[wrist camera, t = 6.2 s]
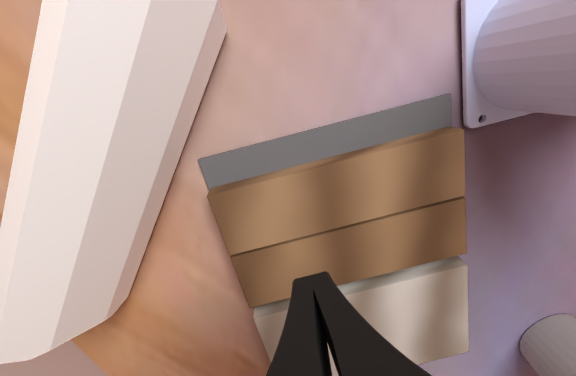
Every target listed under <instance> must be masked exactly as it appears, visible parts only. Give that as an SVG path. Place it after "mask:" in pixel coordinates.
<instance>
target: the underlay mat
mask: <svg viewBox="0 0 576 376" xmlns="http://www.w3.org/2000/svg"><path fill="white" fill-rule="evenodd" d="M447 126H451V127H452V114H451V94H445V95H441V96H437V97H433V98H429V99H426V100H422V101H418V102H414V103H410V104H407V105H403V106H399V107H395V108H391V109H387V110H384V111H380V112H376V113H372V114H368V115H365V116H361V117H357V118H353V119H349V120H345V121H342V122H338V123H334V124H330V125H326V126H323V127H319V128H315V129H311V130H307V131H303V132H300V133H296V134H292V135H288V136H284V137H281V138H277V139H273V140H269V141H265V142H261V143H258V144H254V145H250V146H246V147H242V148H239V149H235V150H231V151H227V152H223V153H219V154H216V155H212V156H208V157H204V158H200V159H198V162H199V164H200V167H201V170H202V172H203V175H204V178H205V180H206V183H207V186H208V188H209V191H210V190H211V188H213V187H216V186H220V185H224V184H228V183H232V182H236V181H240V180H243V179H247V178H251V177H255V176H259V175H263V174H266V173H270V172H274V171H278V170H282V169H286V168H290V167H293V166H297V165H301V164H305V163H309V162H313V161H317V160H320V159H324V158H328V157H332V156H336V155H340V154H343V153H347V152H351V151H355V150H359V149H363V148H367V147H370V146H374V145H378V144H382V143H386V142H390V141H394V140H397V139H401V138H405V137H409V136H413V135H417V134H420V133H424V132H428V131H432V130H436V129H440V128H444V127H447ZM253 308H254V307H253Z"/></svg>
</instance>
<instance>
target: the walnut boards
mask: <svg viewBox="0 0 576 376" xmlns="http://www.w3.org/2000/svg"><path fill="white" fill-rule="evenodd" d="M463 196H465V146H464V129H460V128H455V127H451V126H447V127H444V128H440V129H436V130H432V131H428V132H424V133H420V134H417V135H413V136H409V137H405V138H401V139H397V140H394V141H390V142H386V143H382V144H378V145H374V146H370V147H367V148H363V149H359V150H355V151H351V152H347V153H343V154H340V155H336V156H332V157H328V158H324V159H320V160H317V161H313V162H309V163H305V164H301V165H297V166H293V167H290V168H286V169H282V170H278V171H274V172H270V173H266V174H263V175H259V176H255V177H251V178H247V179H243V180H240V181H236V182H232V183H228V184H224V185H220V186H216V187H213V188H211V190H210V192H209V193H208V195H207V197H208V200H209V203H210V205H211V208H212V211H213V213H214V216H215V218H216V221H217V224H218V226H219V229H220V231H221V234H222V237H223V239H224V242H225V245H226V247H227V250H228V252H229V255H231V260H232V263H233V266H234V268H235V271H236V273H237V276H238V279H239V281H240V284H241V287H242V289H243V292H244V294H245V297H246V300H247V302H248V305H249V307H250V308H251V307H255V306H259V305H263V304H267V303H271V302H275V301H279V300H283V299H287V298H291V292H292V282H293V281H294V279H297V278H301V277H305V276H309V275H313V274H317V273H321V272H324V271H326V272H328V273H329V274H330V276H331V278H332V280H333V281H334V283H335V284H336V286H338V285H342V284H346V283H350V282H354V281H358V280H362V279H366V278H370V277H374V276H378V275H382V274H386V273H390V272H394V271H398V270H402V269H406V268H410V267H414V266H418V265H422V264H426V263H430V262H434V261H438V260H442V259H446V258H450V257H454V256H458V255H462V254H466V253H467V243H466V198H465V197H463Z"/></svg>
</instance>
